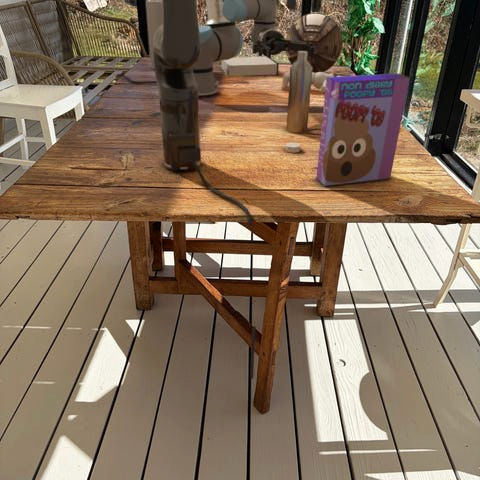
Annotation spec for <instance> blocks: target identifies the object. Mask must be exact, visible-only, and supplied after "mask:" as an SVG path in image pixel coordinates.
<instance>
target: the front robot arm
mask: <svg viewBox="0 0 480 480" xmlns="http://www.w3.org/2000/svg"><path fill="white" fill-rule="evenodd" d="M162 2H163V24H162V25H161V26H160V27H159V28H158V29H157V30H156V32H155V35H154V38H153V56H154V66H155V69H154V74H155V81H156V82H157V83H156V85H157V88H158V96H159V111H160V123H161V124H160V125H161V138H162V139H161V140H162V151H163V166H164V167H165V168H166V169H168V170H170V171H171V172H187V171H196V173H197V174H198V177H199V178H200V180H201V181H202V183H203V184H204V185H205V187H206V188H207V189H208V190H210V191H211V192H212V193H214V194H215V195H218V196H219V197H220V198H222V199H225V200H227V201H229V202H231V203H234V204H235V205H237V206H238V207H239V208H240V209H242V211H243V212H244V213H245V217H246V219H247V223H248V226H249V227H254V224H253V221H252V217H251V214H250V211H249V209H248V208H247V206H245V205H244V204H243V203H242V202H240V201H239V200H237V199H235V198H233V197H231V196H228V195H226V194H224V193H222V192H221V191H219V190H217V189H216V188H215V187H212V186H211V185H210V184H209V182H207V180H206V178H205V176H204V175H203V173H202V171H201V169H200V168H199V167H200V166H201V165H202V162H201V161H202V157H201V156H202V155H201V142H200V113H199V110H200V108H199V98H198V85H197V83H196V81H195V78H194V74H193V66H194V65H195V64H196V62H197V61H198V58H199V56H200V51H201V41H200V32H199V26H200V24H199V16H198V7H197V0H162ZM322 2H323V0H311V9H310V11H311V13H320V11H321V9H322V4H323V3H322ZM296 7H297V0H286V8H287V9H289V10H295V9H296ZM256 329H257V326H256V325H253V326H252V327H251V345H250V368H249V378H250V379H254V371H255V369H254V368H255V367H254V366H255V345H256V344H255V343H256Z"/></svg>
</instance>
